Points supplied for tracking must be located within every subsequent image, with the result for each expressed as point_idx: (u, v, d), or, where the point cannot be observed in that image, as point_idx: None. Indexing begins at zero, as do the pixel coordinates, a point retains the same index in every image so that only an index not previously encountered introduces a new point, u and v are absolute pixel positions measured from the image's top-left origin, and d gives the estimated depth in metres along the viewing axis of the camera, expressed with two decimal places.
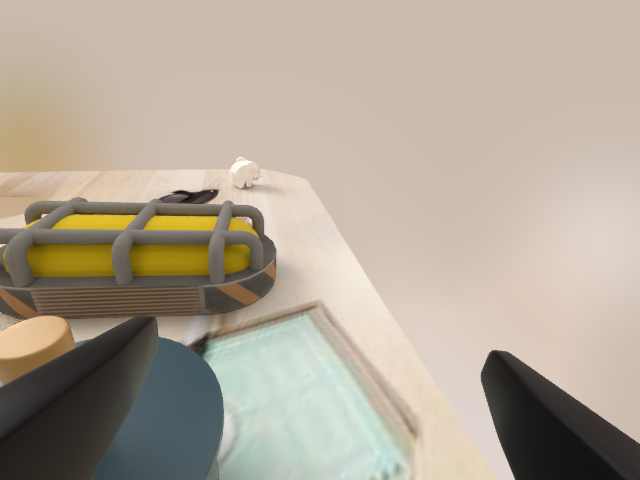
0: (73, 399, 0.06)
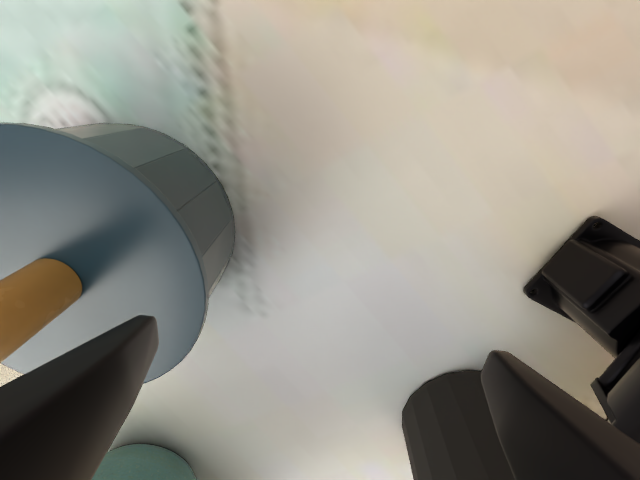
0: (73, 399, 0.06)
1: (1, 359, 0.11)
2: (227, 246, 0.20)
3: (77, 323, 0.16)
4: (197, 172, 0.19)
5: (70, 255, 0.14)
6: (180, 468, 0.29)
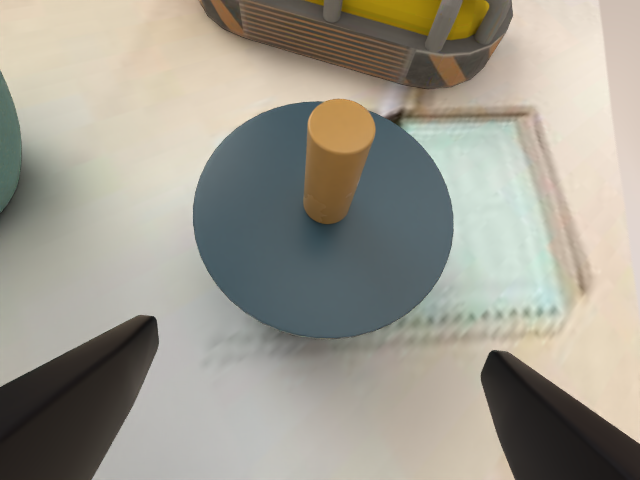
0: (73, 399, 0.06)
1: (320, 178, 0.13)
2: None
3: (280, 208, 0.17)
4: None
5: (353, 222, 0.17)
6: None
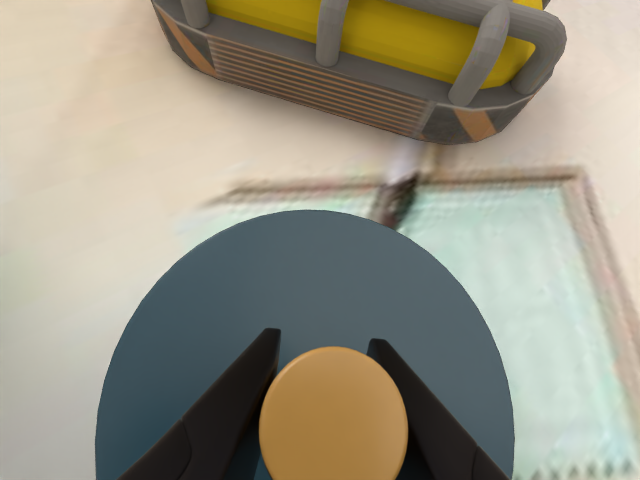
0: (255, 415, 0.06)
1: None
2: None
3: None
4: None
5: None
6: None
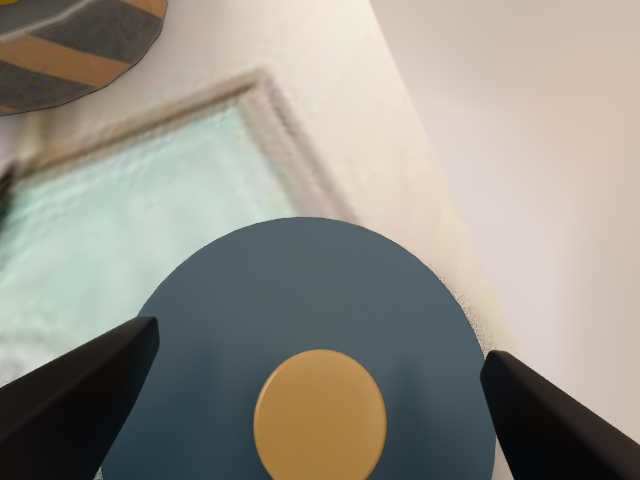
0: (75, 399, 0.06)
1: None
2: None
3: (237, 406, 0.11)
4: None
5: None
6: None
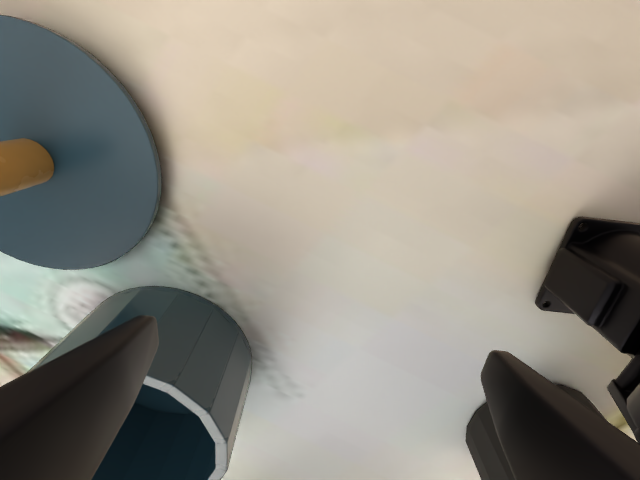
0: (73, 399, 0.06)
1: None
2: (242, 360, 0.23)
3: (48, 203, 0.19)
4: (193, 313, 0.21)
5: (46, 137, 0.17)
6: None
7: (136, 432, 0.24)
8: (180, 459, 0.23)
